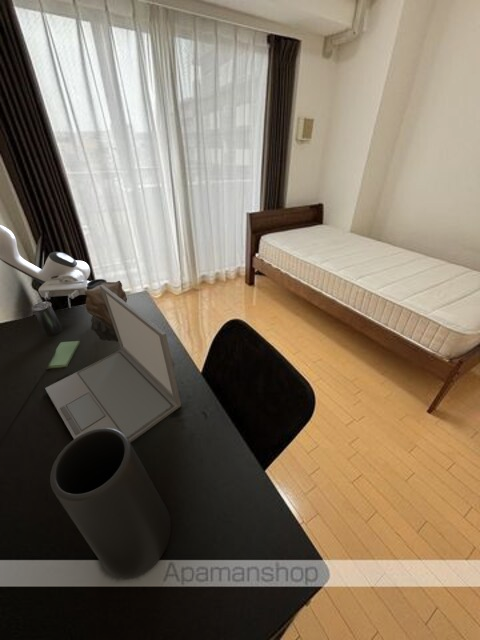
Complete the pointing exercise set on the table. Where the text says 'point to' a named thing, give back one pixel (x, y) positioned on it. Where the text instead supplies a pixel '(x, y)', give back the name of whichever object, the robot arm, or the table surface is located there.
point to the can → (47, 318)
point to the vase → (112, 501)
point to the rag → (63, 354)
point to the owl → (103, 309)
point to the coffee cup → (95, 283)
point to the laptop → (121, 380)
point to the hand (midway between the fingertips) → (58, 298)
